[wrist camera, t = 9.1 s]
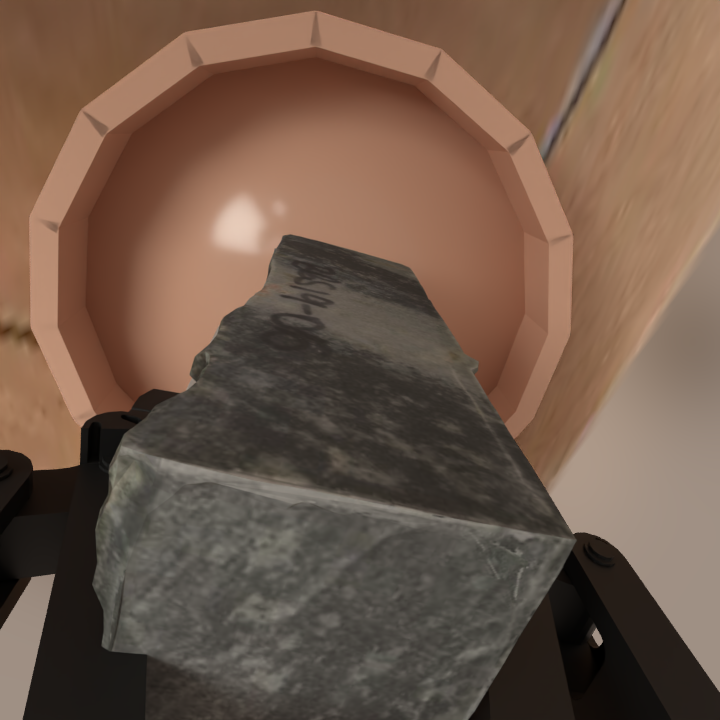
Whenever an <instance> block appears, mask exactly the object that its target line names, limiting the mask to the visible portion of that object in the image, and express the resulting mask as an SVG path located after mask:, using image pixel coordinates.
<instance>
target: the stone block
mask: <svg viewBox="0 0 720 720" xmlns="http://www.w3.org/2000/svg"><path fill="white" fill-rule="evenodd" d="M478 366H479V361H477V360H475V359H473V358H471V357H469V356H468V355H466V354H464V352H463V350H462V348H461V347H460V345H459V343H458V342H457V340H456V339H455V337H454V336H453V334H452V333H451V331H450V329H449V328H448V326H447V325H446V323H445V322H444V320H443V319H442V317H441V316H440V314H439V313H438V312H437V310H436V309H435V307H434V306H433V304H432V302H431V300H429V299H428V297H427V295H426V292H425V290H424V289H423V287H422V285H421V284H420V282H419V280H418V279H417V277H416V276H415V274H414V273H413V271H412V270H411V269H410V268H409V267H407V266H405V265H402V264H399V263H396V262H392V261H389V260H385V259H382V258H378V257H375V256H371V255H368V254H365V253H361V252H358V251H354V250H351V249H347V248H343V247H339V246H336V245H332V244H328V243H324V242H321V241H317V240H313V239H308V238H305V237H301V236H296V235H292V234H289V235H284V236H283V237H282V240H281V242H280V243H279V245H278V247H277V248H275V249H274V253H273V256H272V258H271V261H270V263H269V267H268V276H267V279H266V282H265V284H264V286H263V288H262V290H260V291H258V292H256V293H255V295H254V296H252V297H251V298H249V300H248V301H247V302H246V303H245V305H244V306H241V307H239V308H236V309H235V310H233V311H232V312H230V313H229V314H227V315H226V316H224V317H223V319H222V320H221V322H220V326H219V330H218V333H217V335H216V337H215V338H214V339H213V340H212V342H211V343H210V344H209V345H208V346H206V347H205V348H204V349H203V350H202V351H201V352H199V353H198V354H197V355H196V356H195V357H194V361H193V364H192V367H191V371H190V374H189V375H190V376H191V377H192V378H193V379H194V380H195V381H196V383H195V384H194V385H192V386H191V387H190V388H189V389H188V390H186V391H184V392H182V393H180V394H178V395H176V396H174V397H172V398H169V399H167V400H165V401H163V402H161V403H159V404H157V405H156V406H155V407H154V408H153V409H152V411H151V412H150V413H149V414H148V416H147V417H146V418H145V419H143V420H142V421H141V422H139V423H138V424H137V425H135V426H134V427H133V428H131V429H130V430H129V431H127V432H126V433H125V434H124V435H123V438H122V440H121V442H120V444H119V446H118V448H117V450H116V452H115V455H114V457H113V459H112V461H111V463H110V465H109V472H108V473H109V492H108V496H107V498H106V500H105V502H104V503H103V505H102V507H101V509H100V512H99V517H98V521H97V525H96V529H95V533H96V551H97V566H96V570H95V575H94V579H93V583H92V585H93V588H94V590H95V592H96V594H97V597H98V599H99V601H100V603H101V606H102V608H103V610H104V633H103V639H102V645H101V646H102V647H104V648H105V649H107V650H109V651H111V652H112V651H113V652H123V653H135V654H147V672H146V706H145V720H468V719H469V718H470V717H471V715H472V714H473V713H474V712H475V710H476V708H477V707H478V705H479V703H480V702H481V700H482V698H483V697H484V695H485V693H486V692H487V690H488V688H489V687H490V685H491V684H492V682H493V680H494V679H495V677H496V676H497V674H498V672H499V671H500V669H501V667H502V666H503V664H504V662H505V661H506V659H507V657H508V655H509V654H510V652H511V650H512V649H513V647H514V645H515V643H516V642H517V640H518V638H519V636H520V635H521V633H522V632H523V630H524V628H525V627H526V625H527V624H528V622H529V621H530V619H531V617H532V616H533V614H534V613H535V611H536V609H537V608H538V606H539V605H540V603H541V602H542V600H543V598H544V597H545V595H546V594H547V592H548V590H549V589H550V587H551V586H552V584H553V583H554V581H555V579H556V578H557V576H558V575H559V573H560V571H561V569H562V567H563V566H564V564H565V562H566V560H567V558H568V556H569V554H570V552H571V550H572V548H573V546H574V544H575V542H576V541H577V540H576V538H575V537H574V535H573V534H572V532H571V530H570V529H569V527H568V525H567V524H566V522H565V520H564V519H563V517H562V516H561V514H560V512H559V510H558V509H557V507H556V506H555V504H554V502H553V501H552V499H551V497H550V496H549V494H548V492H547V491H546V489H545V487H544V486H543V484H542V482H541V481H540V479H539V478H538V476H537V474H536V473H535V471H534V469H533V468H532V466H531V465H530V463H529V462H528V460H527V459H526V457H525V456H524V454H523V453H522V451H521V449H520V448H519V446H518V445H517V443H516V442H515V440H514V439H513V437H512V435H511V434H510V432H509V431H508V429H507V427H506V426H505V424H504V422H503V421H502V419H501V417H500V415H499V414H498V412H497V411H496V409H495V408H494V406H493V405H492V403H491V402H490V400H489V399H488V397H487V395H486V393H485V392H484V390H483V388H482V386H481V385H480V383H479V382H478V380H477V378H476V377H475V373H476V372H477V371H478Z"/></svg>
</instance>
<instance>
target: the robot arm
mask: <svg viewBox="0 0 720 720" xmlns="http://www.w3.org/2000/svg"><path fill="white" fill-rule="evenodd" d="M218 330H219V326H218V328H217V330H216V332H215V334H214V336H213V338H212V340H213V339H214V338H215V337H216V335H217V333H218ZM212 340H211V342H212ZM211 342H210V343H211ZM195 383H196V381H195V380H194V379H193V378H192V379H191V381H190V383H189V385H188V387H187V389H186V390H188V389H189V388H190V387H191V386H192V385H194V384H195ZM178 394H180V393H176V392H171V391H165V390H159V389H152V390H150V391H148V392H146V393H145V394H143V395H141V396H139V397H138V399H137V400H136V402H135V403H134V405H133V406H132V409H130V411H129V412H125V411H115V412H106V413H102V414H99V415H95V416H94V417H92V418H90V419H89V420H87V421H86V422H85V423H84V425H83V426H82V428H81V451H80V465H78V466H74V467H70V468H64V469H53V470H35V471H33V466H32V463H31V460H30V459H29V458H28V457H26V456H25V455H23V454H22V453H18V452H14V451H11V450H0V629H1V628H2V626H3V624H4V623H5V621H6V619H7V618H8V616H9V614H10V613H11V611H12V610H13V608H14V606H15V605H16V603H17V601H18V600H19V598H20V596H21V595H22V593H23V592H24V590H25V588H26V586H27V585H28V583H29V582H30V580H31V577H35V576H42V575H50V574H55V578H54V582H53V587H52V591H51V596H50V600H49V605H48V609H47V614H46V618H45V622H44V627H43V632H42V636H41V640H40V645H39V649H38V654H37V658H36V663H35V667H34V671H33V676H32V680H31V685H30V690H29V694H28V699H27V703H26V707H25V712H24V716H23V720H145V706H146V672H147V654H135V653H123V652H113V651H112V652H111V651H109V650H107V649H105V648H104V647H102V646H101V645H102V639H103V633H104V610H103V608H102V606H101V603H100V601H99V599H98V597H97V594H96V592H95V590H94V588H93V585H92V583H93V579H94V575H95V570H96V566H97V551H96V533H95V529H96V525H97V521H98V517H99V512H100V509H101V507H102V505H103V503H104V502H105V500H106V498H107V496H108V492H109V473H108V472H109V465H110V463H111V461H112V459H113V457H114V455H115V452H116V450H117V448H118V446H119V444H120V442H121V440H122V438H123V435H124V434H125V433H126V432H127V431H129V430H130V429H131V428H133V427H134V426H135V425H137V424H138V423H139V422H141V421H142V420H143V419H145V418H146V417H147V416H148V414H149V413H150V412H151V411H152V409H153V408H154V407H155V406H156V405H157V404H159V403H161V402H163V401H165V400H167V399H169V398H172V397H174V396H176V395H178ZM573 535H574V537H575V538H576V540H577V541H576V542H575V544H574V546H573V548H572V550H571V552H570V554H569V556H568V558H567V560H566V562H565V564H564V566H563V567H562V569H561V571H560V573H559V575H558V576H557V578H556V579H555V581H554V583H553V584H552V586H551V587H550V589H549V590H548V592H547V594H546V595H545V597H544V598H543V600H542V602H541V603H540V605H539V606H538V608H537V609H536V611H535V613H534V614H533V616H532V617H531V619H530V621H529V622H528V624H527V625H526V627H525V628H524V630H523V632H522V633H521V635H520V636H519V638H518V640H517V642H516V643H515V645H514V647H513V649H512V650H511V652H510V654H509V655H508V657H507V659H506V661H505V662H504V664H503V666H502V667H501V669H500V671H499V672H498V674H497V676H496V677H495V679H494V680H493V682H492V684H491V685H490V687H489V688H488V690H487V692H486V693H485V695H484V697H483V698H482V700H481V702H480V703H479V705H478V707H477V708H476V710H475V712H474V713H473V714H472V715H471V717H470V718H469V719H468V720H720V692H719V691H718V690H717V688H716V687H715V685H714V684H713V682H712V681H711V680H710V678H709V677H708V675H707V674H706V672H705V671H704V670H703V668H702V667H701V665H700V664H699V662H698V661H697V660H696V658H695V657H694V655H693V654H692V652H691V651H690V650H689V648H688V647H687V645H686V644H685V643H684V641H683V640H682V638H681V637H680V635H679V634H678V632H677V631H676V630H675V628H674V627H673V625H672V624H671V623H670V621H669V620H668V618H667V617H666V615H665V614H664V613H663V611H662V610H661V608H660V607H659V605H658V604H657V602H656V601H655V600H654V598H653V597H652V595H651V594H650V593H649V591H648V590H647V588H646V587H645V586H644V584H643V582H642V581H641V580H640V579H639V577H638V575H637V574H636V572H635V571H634V570H633V568H632V567H631V565H630V564H629V562H628V561H627V560H626V558H625V557H624V556H623V555H622V554H621V553H620V552H619V550H618V549H616V548H615V547H614V546H612V545H611V544H610V543H609V542H607V541H606V540H604V539H601V538H600V537H598V536H595V535H591V534H588V533H575V534H573ZM596 628H597V629H598V631H599V633H600V635H601V637H602V640H603V643H602V644H601V645H600V646H598V645H597V643H596V642H595V640H594V638H593V636H592V634H593V632H594V630H595V629H596Z"/></svg>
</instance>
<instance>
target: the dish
mask: <svg viewBox="0 0 720 720" xmlns="http://www.w3.org/2000/svg"><path fill="white" fill-rule="evenodd" d="M289 234H292V235H296V236H301V237H305V238H308V239H313V240H317V241H321V242H324V243H328V244H332V245H336V246H339V247H343V248H347V249H351V250H354V251H358V252H361V253H365V254H368V255H371V256H375V257H378V258H382V259H385V260H389V261H392V262H396V263H399V264H402V265H405V266H407V267H409V268H410V269H411V270H412V271H413V273H414V274H415V276H416V277H417V279H418V280H419V282H420V284H421V285H422V287H423V289H424V290H425V292H426V295H427V297H428V299H429V300H431V302H432V304H433V306H434V307H435V309H436V310H437V312H438V313H439V314H440V316H441V317H442V319H443V320H444V322H445V323H446V325H447V326H448V328H449V329H450V331H451V333H452V334H453V336H454V337H455V339H456V340H457V342H458V343H459V345H460V347H461V348H462V350H463V352H464V354H466V355H468V356H469V357H471V358H473V359H475V360H477V361H479V366H478V371H477V372H476V373H475V377H476V378H477V380H478V382H479V383H480V385H481V386H482V388H483V390H484V392H485V393H486V395H487V397H488V399H489V400H490V402H491V403H492V405H493V406H494V408H495V409H496V411H497V412H498V414H499V415H500V417H501V419H502V421H503V422H504V424H505V426H506V427H507V429H508V431H509V432H510V434H511V435H512V437H513V439H515V438H516V437H517V436H518V435H519V434H520V433H521V432H522V431H523V430H524V429H525V427H526V426H527V425H528V424H529V423H530V422H531V421H532V420H533V419H534V417H535V415H536V412H537V410H538V408H539V406H540V403H541V401H542V399H543V396H544V394H545V392H546V390H547V387H548V385H549V383H550V380H551V378H552V376H553V374H554V371H555V369H556V367H557V364H558V362H559V360H560V358H561V355H562V353H563V351H564V348H565V346H566V344H567V342H568V339H569V337H570V335H571V302H572V265H573V233H572V231H571V228H570V226H569V223H568V221H567V218H566V216H565V213H564V211H563V208H562V206H561V204H560V201H559V199H558V196H557V194H556V191H555V189H554V186H553V184H552V182H551V179H550V177H549V174H548V172H547V169H546V167H545V164H544V162H543V160H542V157H541V155H540V152H539V150H538V147H537V145H536V142H535V140H534V137H533V135H532V132H531V131H530V130H529V129H528V128H526V127H525V126H524V125H523V124H522V123H521V122H520V121H519V120H518V119H517V118H516V117H515V116H514V115H512V114H511V113H510V112H509V111H508V110H507V109H506V108H505V107H504V106H503V105H502V104H501V103H499V102H498V101H497V100H496V99H495V98H494V97H493V96H492V95H491V94H490V93H489V92H488V91H487V90H485V89H484V88H483V87H482V86H481V85H480V84H479V83H478V82H477V81H476V80H475V79H474V78H473V77H471V76H470V75H469V74H468V73H467V72H466V71H465V70H464V69H463V68H462V67H461V66H460V65H459V64H457V63H456V62H455V61H454V60H453V59H452V58H451V57H450V56H449V55H448V54H447V53H446V52H445V51H443V50H442V49H440V48H437V47H434V46H430V45H427V44H424V43H421V42H417V41H414V40H411V39H408V38H404V37H401V36H398V35H395V34H391V33H388V32H385V31H382V30H378V29H375V28H372V27H369V26H366V25H362V24H359V23H356V22H353V21H349V20H346V19H343V18H340V17H336V16H333V15H330V14H327V13H323V12H320V11H317V10H315V11H309V12H303V13H297V14H291V15H285V16H279V17H272V18H266V19H260V20H254V21H248V22H242V23H236V24H230V25H224V26H218V27H212V28H206V29H200V30H194V31H188V32H184V33H183V34H181V35H180V36H179V37H177V38H176V39H175V40H173V41H172V42H170V43H169V44H168V45H166V46H165V47H164V48H162V49H161V50H160V51H158V52H157V53H156V54H154V55H153V56H152V57H150V58H149V59H148V60H146V61H145V62H144V63H142V64H141V65H140V66H138V67H137V68H136V69H134V70H133V71H132V72H130V73H129V74H128V75H126V76H125V77H124V78H122V79H121V80H120V81H118V82H117V83H116V84H114V85H113V86H112V87H110V88H109V89H108V90H106V91H105V92H104V93H102V94H101V95H100V96H98V97H97V98H96V99H94V100H93V101H92V102H90V103H89V104H88V105H86V106H85V107H83V108H82V109H81V110H80V112H79V114H78V116H77V118H76V120H75V122H74V125H73V127H72V129H71V131H70V133H69V135H68V137H67V139H66V141H65V143H64V145H63V147H62V150H61V152H60V154H59V156H58V158H57V160H56V162H55V164H54V166H53V168H52V170H51V172H50V175H49V177H48V179H47V181H46V183H45V185H44V187H43V189H42V191H41V193H40V195H39V197H38V200H37V202H36V204H35V206H34V208H33V210H32V212H31V214H30V216H29V239H30V318H31V329H32V331H33V333H34V335H35V337H36V340H37V342H38V344H39V346H40V348H41V351H42V353H43V355H44V357H45V359H46V361H47V364H48V366H49V368H50V370H51V372H52V375H53V377H54V379H55V381H56V383H57V385H58V388H59V390H60V392H61V394H62V396H63V399H64V401H65V403H66V405H67V407H68V409H69V412H70V414H71V416H72V418H73V420H74V421H75V422H76V423H77V424H78V425H79V426H80V427H81V428H82V426H83V425H84V423H85V422H86V421H87V420H89V419H90V418H92V417H94V416H95V415H99V414H102V413H106V412H115V411H125V412H129V411H130V409H132V406H133V405H134V403H135V402H136V400H137V399H138V397H139V396H141V395H143V394H145V393H146V392H148V391H150V390H152V389H159V390H165V391H171V392H176V393H182V392H184V391H186V389H187V387H188V385H189V383H190V381H191V379H192V377H191V376H190V375H189V374H190V371H191V367H192V364H193V361H194V357H195V356H196V355H197V354H198V353H199V352H201V351H202V350H203V349H204V348H205V347H206V346H208V345H209V344H210V342H211V340H212V338H213V336H214V334H215V332H216V330H217V328H218V326H220V322H221V320H222V319H223V317H224V316H226V315H227V314H229V313H230V312H232V311H233V310H235V309H236V308H239V307H241V306H244V305H245V303H246V302H247V301H248V300H249V298H251V297H252V296H254V295H255V293H256V292H258V291H260V290H262V288H263V286H264V284H265V282H266V279H267V276H268V267H269V263H270V261H271V258H272V256H273V253H274V249H275V248H277V247H278V245H279V243H280V242H281V240H282V237H283V236H284V235H289Z"/></svg>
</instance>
